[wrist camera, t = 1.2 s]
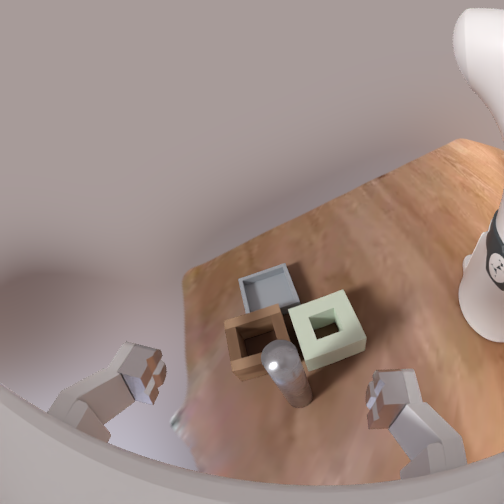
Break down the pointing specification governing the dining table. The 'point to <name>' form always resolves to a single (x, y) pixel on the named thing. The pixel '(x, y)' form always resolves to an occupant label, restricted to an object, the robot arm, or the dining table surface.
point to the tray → (269, 290)
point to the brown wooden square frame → (248, 328)
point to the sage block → (321, 315)
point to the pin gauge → (287, 372)
